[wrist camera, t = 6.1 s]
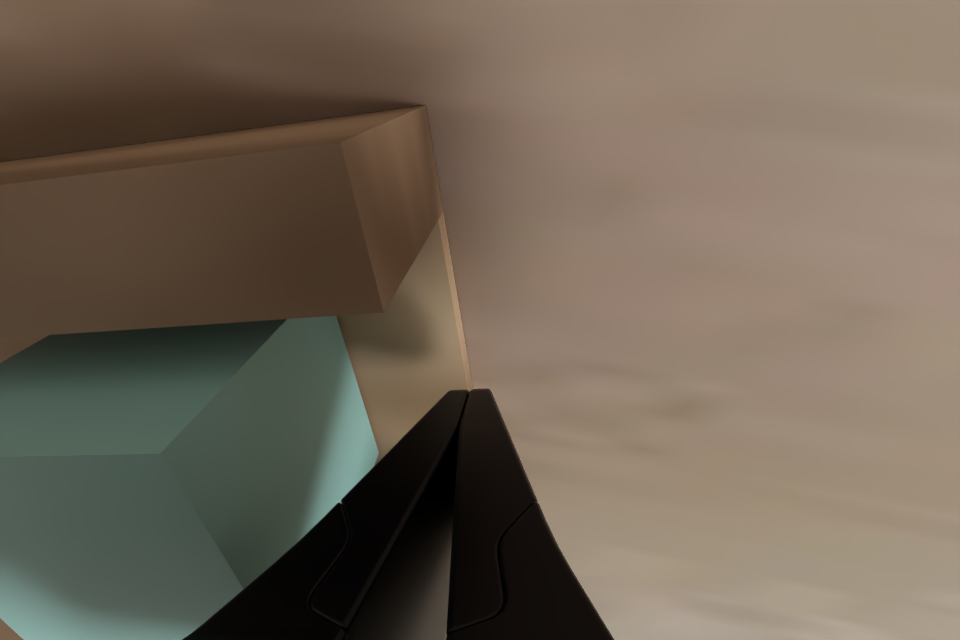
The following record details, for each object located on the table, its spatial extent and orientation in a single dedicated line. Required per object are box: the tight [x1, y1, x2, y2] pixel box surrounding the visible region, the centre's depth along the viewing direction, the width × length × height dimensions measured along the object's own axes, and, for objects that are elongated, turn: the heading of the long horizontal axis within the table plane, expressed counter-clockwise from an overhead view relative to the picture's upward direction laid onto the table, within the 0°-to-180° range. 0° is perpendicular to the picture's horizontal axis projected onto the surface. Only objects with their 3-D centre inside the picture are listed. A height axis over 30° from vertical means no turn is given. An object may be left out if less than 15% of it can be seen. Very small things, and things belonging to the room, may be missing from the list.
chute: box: [0, 105, 473, 640], centre depth 11 cm, size 11×18×4 cm, turn 97°
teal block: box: [0, 316, 379, 640], centre depth 9 cm, size 5×5×5 cm
